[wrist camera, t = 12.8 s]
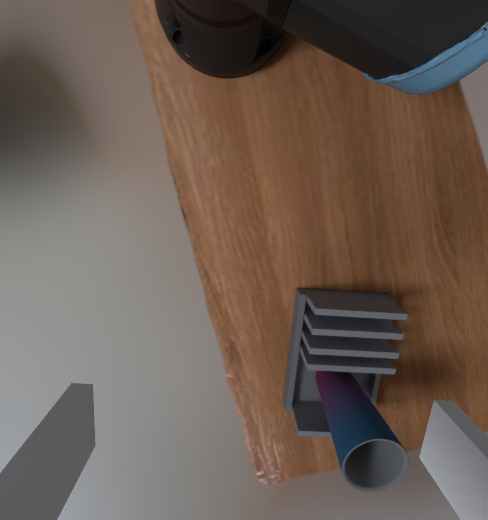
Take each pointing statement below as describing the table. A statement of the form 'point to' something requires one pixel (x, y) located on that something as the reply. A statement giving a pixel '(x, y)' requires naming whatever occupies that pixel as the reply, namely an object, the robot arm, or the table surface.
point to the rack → (337, 348)
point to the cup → (360, 434)
